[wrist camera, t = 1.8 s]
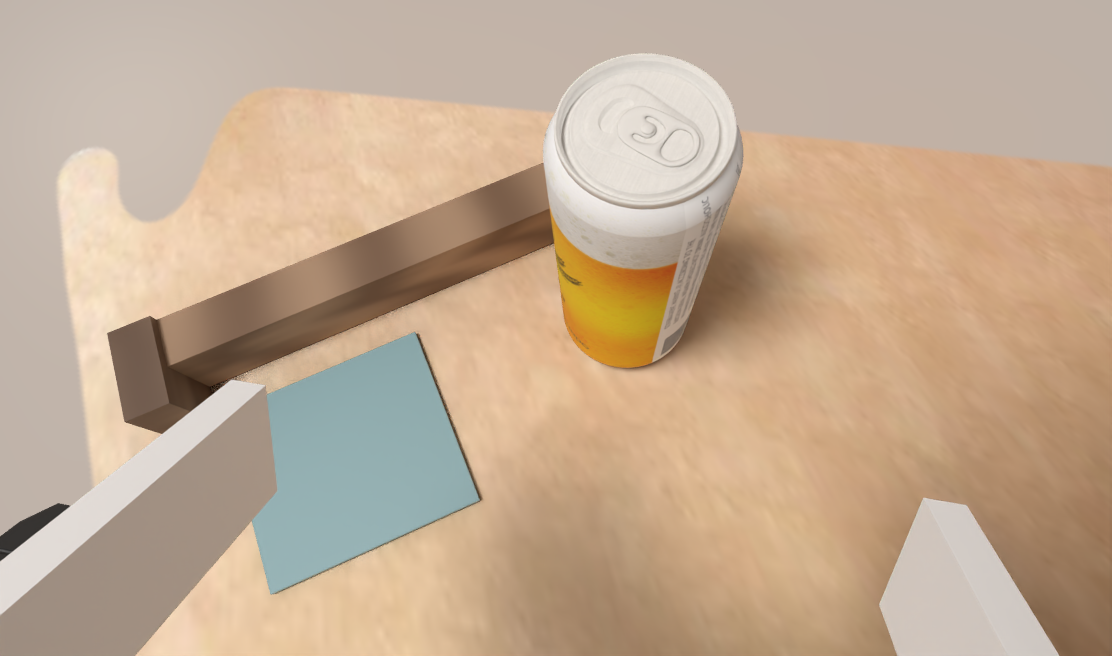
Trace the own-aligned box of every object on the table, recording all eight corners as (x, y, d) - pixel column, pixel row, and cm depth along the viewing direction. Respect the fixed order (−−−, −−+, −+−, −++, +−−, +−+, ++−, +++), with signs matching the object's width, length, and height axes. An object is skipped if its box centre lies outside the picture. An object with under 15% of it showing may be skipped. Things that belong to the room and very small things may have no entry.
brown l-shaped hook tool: (595, 180, 36) (595, 135, 32) (632, 247, 34) (636, 207, 31) (161, 359, 34) (107, 333, 30) (179, 439, 32) (124, 422, 28)
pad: (416, 333, 33) (414, 331, 33) (480, 500, 30) (479, 500, 30) (227, 414, 32) (224, 412, 32) (274, 594, 29) (270, 594, 29)
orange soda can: (606, 240, 35) (612, 13, 20) (708, 298, 33) (789, 96, 19) (540, 331, 33) (498, 152, 19) (644, 396, 31) (681, 255, 17)
